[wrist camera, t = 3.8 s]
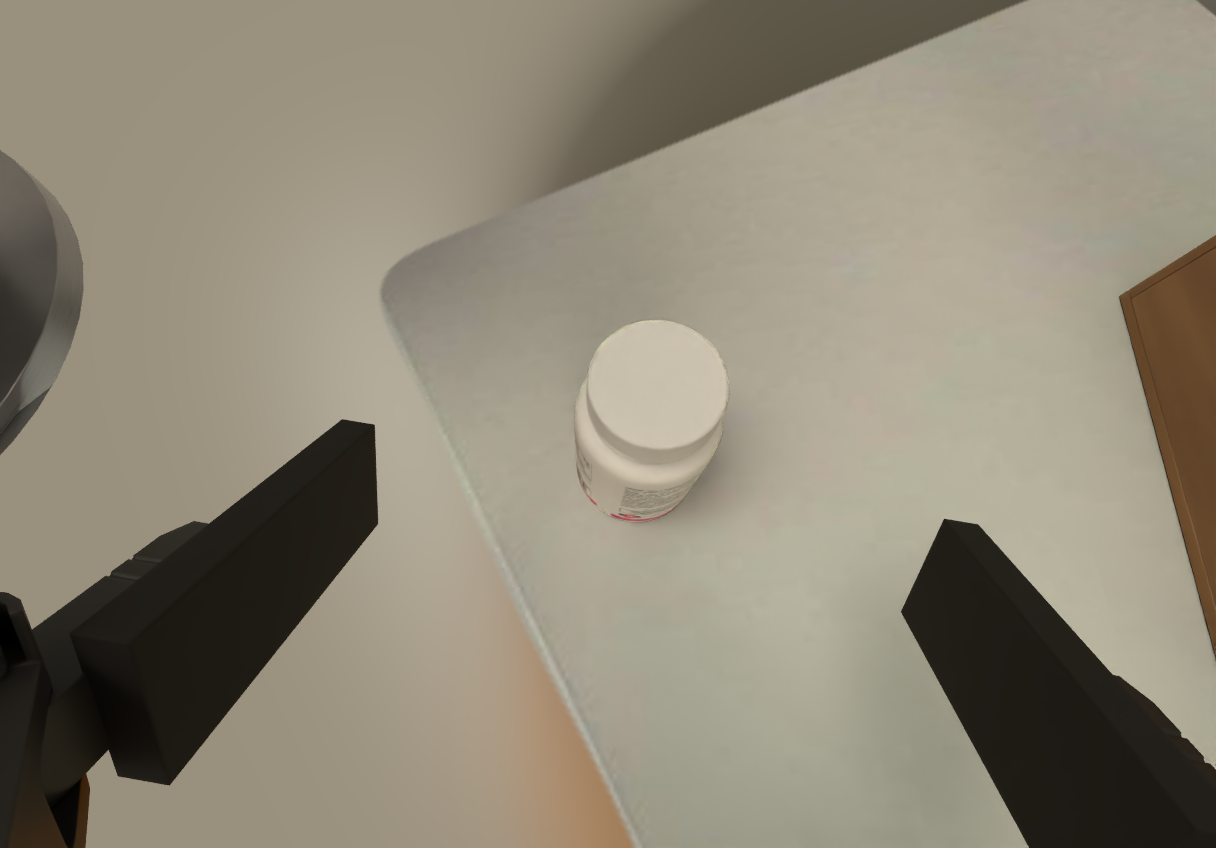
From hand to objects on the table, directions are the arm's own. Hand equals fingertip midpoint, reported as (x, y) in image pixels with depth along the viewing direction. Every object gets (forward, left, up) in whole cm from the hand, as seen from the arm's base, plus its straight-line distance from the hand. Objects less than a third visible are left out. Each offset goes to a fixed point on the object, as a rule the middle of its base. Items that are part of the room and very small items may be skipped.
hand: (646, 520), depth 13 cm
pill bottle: (-2, +4, -10) cm, 10 cm away
